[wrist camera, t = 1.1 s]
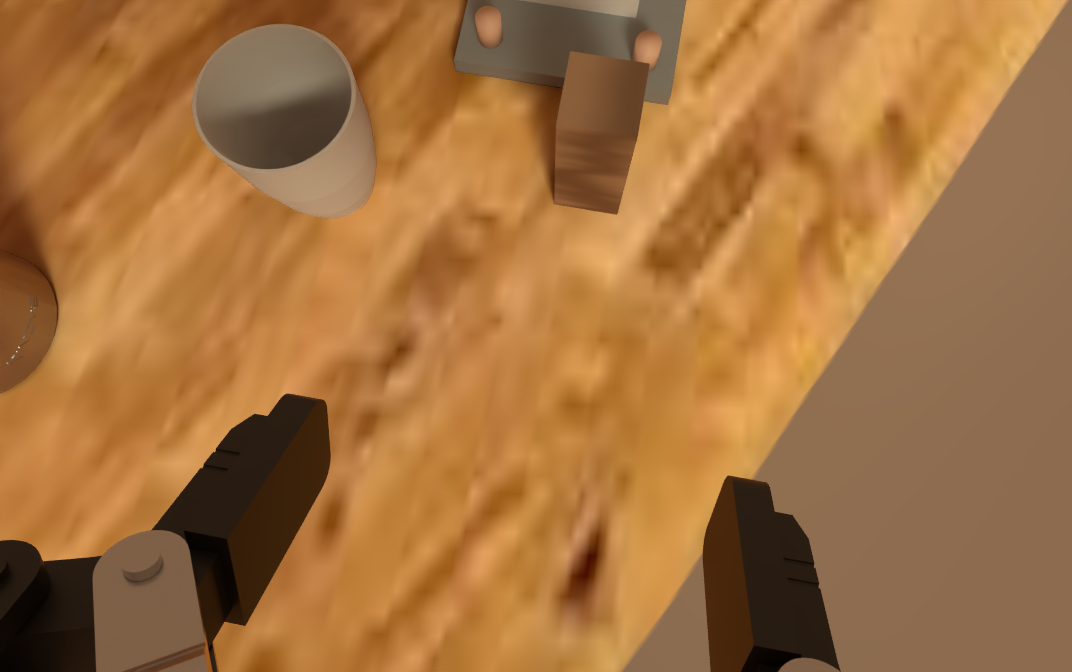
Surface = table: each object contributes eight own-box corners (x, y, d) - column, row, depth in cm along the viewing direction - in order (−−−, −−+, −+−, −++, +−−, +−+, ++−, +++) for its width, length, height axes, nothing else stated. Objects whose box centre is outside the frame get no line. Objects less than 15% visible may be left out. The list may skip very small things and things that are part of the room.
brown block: (554, 204, 43) (555, 123, 33) (565, 146, 44) (570, 51, 34) (617, 214, 43) (637, 136, 33) (627, 156, 44) (650, 63, 34)
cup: (375, 106, 45) (326, 2, 35) (415, 215, 43) (377, 138, 33) (256, 148, 44) (173, 55, 35) (293, 260, 43) (217, 196, 33)
